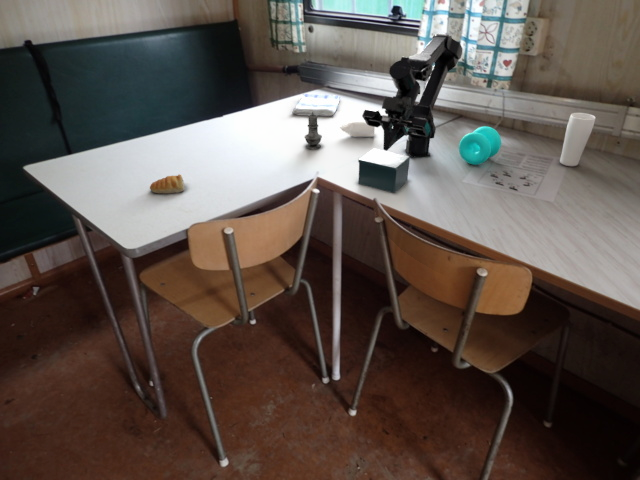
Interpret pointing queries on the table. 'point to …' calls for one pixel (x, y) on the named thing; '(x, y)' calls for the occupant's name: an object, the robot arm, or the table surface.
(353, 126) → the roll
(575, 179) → the table surface
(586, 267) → the table surface
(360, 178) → the open-top green box
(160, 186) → the pastry
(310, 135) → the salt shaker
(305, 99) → the dish towel
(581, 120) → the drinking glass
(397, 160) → the green box lid
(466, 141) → the donuts
